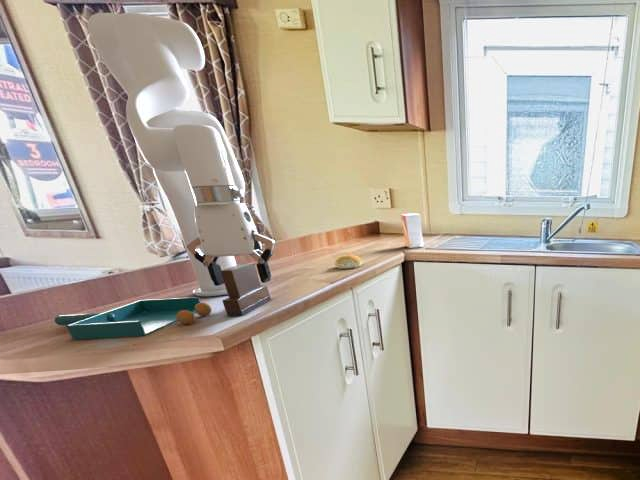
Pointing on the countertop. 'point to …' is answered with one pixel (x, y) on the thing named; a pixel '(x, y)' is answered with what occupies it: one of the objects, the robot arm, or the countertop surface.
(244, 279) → the stepped wooden block
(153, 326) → the dustpan
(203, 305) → the orange round ball
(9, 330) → the countertop surface
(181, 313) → the crumb
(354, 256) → the bread roll
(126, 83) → the robot arm
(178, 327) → the countertop surface
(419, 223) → the small box
